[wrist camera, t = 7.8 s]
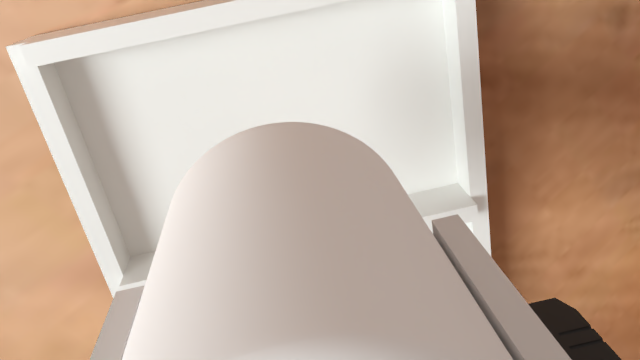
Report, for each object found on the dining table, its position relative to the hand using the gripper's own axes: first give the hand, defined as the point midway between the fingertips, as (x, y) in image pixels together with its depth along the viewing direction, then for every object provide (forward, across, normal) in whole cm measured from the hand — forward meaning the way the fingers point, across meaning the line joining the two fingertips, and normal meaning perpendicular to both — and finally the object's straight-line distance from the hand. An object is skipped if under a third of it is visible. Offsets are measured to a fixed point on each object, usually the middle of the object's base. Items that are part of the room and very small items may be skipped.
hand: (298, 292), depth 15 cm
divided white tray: (+17, 0, +6) cm, 18 cm away
